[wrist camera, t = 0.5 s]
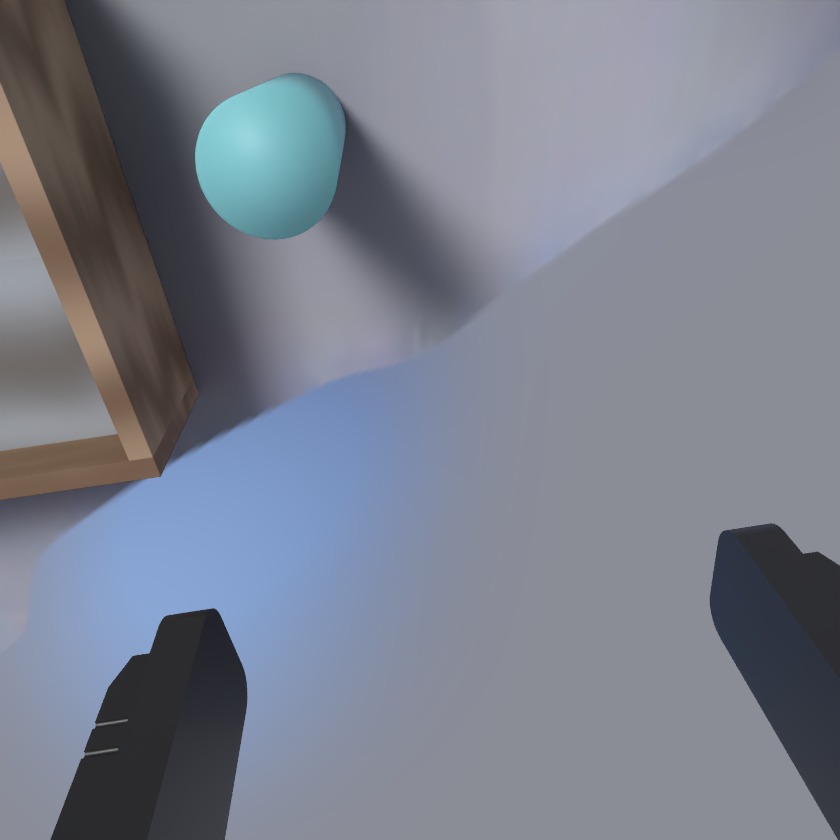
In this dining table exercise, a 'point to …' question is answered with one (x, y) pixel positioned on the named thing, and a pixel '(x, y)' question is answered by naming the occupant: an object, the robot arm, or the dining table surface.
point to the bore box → (75, 281)
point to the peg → (273, 156)
